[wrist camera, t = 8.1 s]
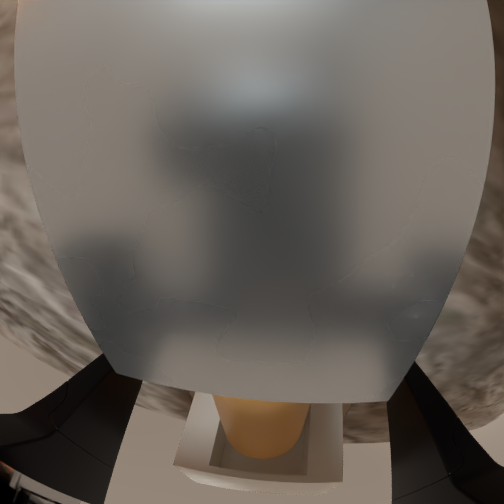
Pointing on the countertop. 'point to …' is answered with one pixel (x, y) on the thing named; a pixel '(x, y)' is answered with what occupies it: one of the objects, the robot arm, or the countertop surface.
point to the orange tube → (261, 425)
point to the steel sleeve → (258, 181)
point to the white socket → (263, 470)
